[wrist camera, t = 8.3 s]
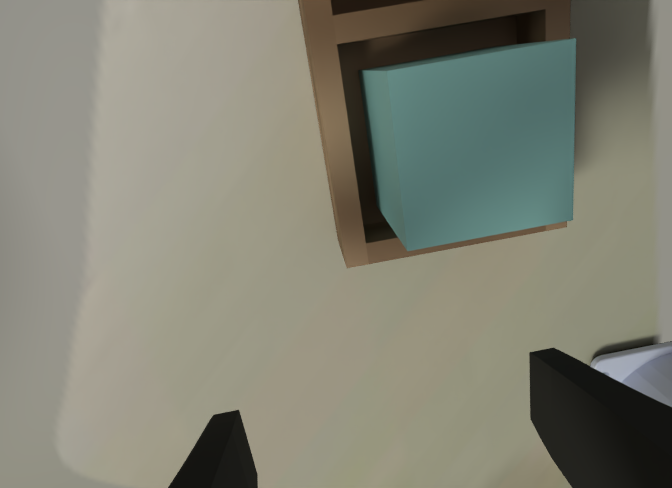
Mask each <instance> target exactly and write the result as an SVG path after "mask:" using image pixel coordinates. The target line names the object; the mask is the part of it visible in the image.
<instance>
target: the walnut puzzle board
mask: <svg viewBox="0 0 672 488" xmlns="http://www.w3.org/2000/svg"><path fill="white" fill-rule="evenodd" d="M570 1H571V0H298V3H299V9H300V15H301V21H302V26H303V32H304V38H305V44H306V50H307V56H308V62H309V68H310V74H311V80H312V86H313V92H314V98H315V104H316V110H317V116H318V122H319V128H320V134H321V140H322V146H323V152H324V158H325V164H326V170H327V176H328V182H329V188H330V194H331V200H332V206H333V212H334V218H335V224H336V230H337V236H338V241H339V244H340V248H341V251H342V254H343V257H344V260H345V263H346V267H347V268H350V267H356V266H361V265H366V264H372V263H377V262H382V261H388V260H393V259H399V258H404V257H409V256H415V255H420V254H425V253H431V252H436V251H441V250H447V249H452V248H457V247H463V246H468V245H473V244H479V243H484V242H489V241H495V240H500V239H505V238H511V237H516V236H521V235H527V234H532V233H537V232H543V231H548V230H553V229H559V228H564V227H567V221H565V222H560V223H555V224H549V225H544V226H539V227H534V228H528V229H523V230H518V231H512V232H507V233H502V234H497V235H491V236H486V237H481V238H475V239H470V240H465V241H460V242H454V243H449V244H444V245H438V246H433V247H428V248H423V249H417V250H412V251H407V250H406V248H405V247H404V245H403V244H402V242H401V241H400V239H399V238H398V237H397V235H396V234H395V232H394V231H393V229H392V228H391V226H390V225H389V223H388V222H387V220H386V219H385V217H384V216H383V214H382V213H381V211H380V210H379V208H378V207H377V205H376V198H375V191H374V183H373V176H372V168H371V161H370V154H369V146H368V139H367V131H366V124H365V117H364V109H363V102H362V94H361V87H360V80H359V72H358V70H363V69H368V68H374V67H380V66H386V65H392V64H397V63H403V62H409V61H415V60H420V59H426V58H432V57H438V56H444V55H449V54H455V53H461V52H467V51H472V50H478V49H484V48H490V47H495V46H505V45H515V44H524V43H534V42H544V41H554V40H563V39H570Z"/></svg>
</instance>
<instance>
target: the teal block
mask: <svg viewBox="0 0 672 488" xmlns="http://www.w3.org/2000/svg"><path fill="white" fill-rule="evenodd" d="M358 72H359V80H360V87H361V94H362V102H363V109H364V117H365V124H366V131H367V139H368V146H369V154H370V161H371V168H372V176H373V183H374V191H375V198H376V205H377V207H378V208H379V210H380V211H381V213H382V214H383V216H384V217H385V219H386V220H387V222H388V223H389V225H390V226H391V228H392V229H393V231H394V232H395V234H396V235H397V237H398V238H399V239H400V241H401V242H402V244H403V245H404V247H405V248H406V250H407V251H412V250H417V249H423V248H428V247H433V246H438V245H444V244H449V243H454V242H460V241H465V240H470V239H475V238H481V237H486V236H491V235H497V234H502V233H507V232H512V231H518V230H523V229H528V228H534V227H539V226H544V225H549V224H555V223H560V222H565V221H571V220H573V187H574V131H575V74H576V38H573V39H563V40H554V41H544V42H534V43H524V44H515V45H505V46H495V47H490V48H484V49H478V50H472V51H467V52H461V53H455V54H449V55H444V56H438V57H432V58H426V59H420V60H415V61H409V62H403V63H397V64H392V65H386V66H380V67H374V68H368V69H363V70H358Z"/></svg>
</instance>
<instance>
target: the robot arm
mask: <svg viewBox="0 0 672 488" xmlns="http://www.w3.org/2000/svg"><path fill="white" fill-rule="evenodd" d="M530 415H531V421H532V423H533V425H534V426H535V428H536V430H537V432H538V434H539V436H540V438H541V440H542V442H543V443H544V445H545V447H546V449H547V451H548V452H549V454H550V456H551V458H552V459H553V461H554V462H555V463H556V465H557V466H558V468H559V469H560V471H561V472H562V474H563V475H564V476H565V478H566V479H567V481H568V482H569V483H570V485H571V486H572V488H672V341H670V342H666V343H660V344H655V345H650V346H645V347H640V348H635V349H630V350H625V351H620V352H615V353H610V354H605V355H600V356H598V357H596V358H595V359H593V361H592V362H591V366H588V365H587V364H585V363H583V362H581V361H579V360H577V359H575V358H573V357H571V356H569V355H567V354H565V353H563V352H561V351H559V350H557V349H555V348H550V349H545V350H540V351H535V352H530ZM168 488H258V486H257V472H256V468H255V465H254V461H253V457H252V454H251V450H250V447H249V443H248V440H247V436H246V433H245V429H244V426H243V422H242V419H241V415H240V412H239V410H236V411H231V412H226V413H221V414H216V415H213V417H212V418H211V419H210V421H209V423H208V424H207V426H206V428H205V429H204V431H203V433H202V434H201V436H200V438H199V439H198V441H197V443H196V444H195V446H194V448H193V449H192V451H191V453H190V454H189V456H188V458H187V459H186V461H185V462H184V464H183V466H182V467H181V469H180V470H179V472H178V473H177V475H176V476H175V478H174V479H173V481H172V483H171V484H170V486H169V487H168Z"/></svg>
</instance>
